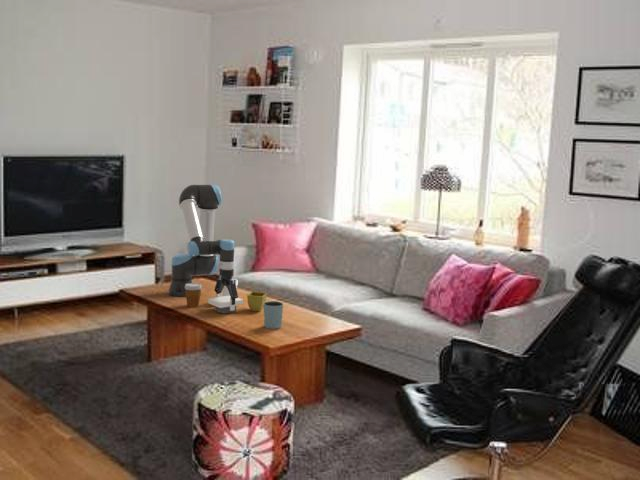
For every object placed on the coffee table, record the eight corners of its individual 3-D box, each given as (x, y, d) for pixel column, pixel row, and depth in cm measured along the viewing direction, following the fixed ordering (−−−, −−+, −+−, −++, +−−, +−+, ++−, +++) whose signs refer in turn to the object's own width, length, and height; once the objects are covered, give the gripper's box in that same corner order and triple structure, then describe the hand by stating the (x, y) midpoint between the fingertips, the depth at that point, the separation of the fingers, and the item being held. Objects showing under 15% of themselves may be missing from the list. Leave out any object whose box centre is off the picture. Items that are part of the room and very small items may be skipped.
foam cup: (226, 305, 404) (227, 282, 402) (217, 302, 411) (217, 279, 409) (240, 303, 410) (241, 280, 408) (231, 299, 417) (231, 277, 415)
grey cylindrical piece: (279, 330, 361) (280, 306, 359) (260, 328, 363) (260, 304, 361) (284, 324, 371) (285, 301, 369) (265, 323, 373) (266, 300, 371)
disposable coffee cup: (182, 304, 402) (182, 283, 400) (199, 303, 406) (199, 282, 404) (186, 308, 394) (186, 287, 392) (203, 307, 397) (204, 286, 395)
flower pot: (261, 312, 392) (262, 296, 391) (246, 311, 394) (246, 295, 393) (266, 308, 401) (266, 292, 399) (251, 307, 402) (251, 291, 401)
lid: (207, 303, 392) (207, 298, 391) (231, 299, 401) (231, 295, 401) (220, 308, 383) (220, 303, 382) (243, 304, 392) (243, 299, 392)
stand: (215, 310, 393) (215, 303, 392) (227, 308, 398) (227, 301, 397) (223, 313, 387) (223, 306, 386) (235, 311, 392) (236, 304, 392)
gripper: (208, 265, 395) (207, 303, 399) (233, 273, 377) (232, 313, 381) (220, 264, 400) (219, 302, 404) (245, 272, 382) (244, 311, 386)
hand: (225, 307), depth 392 cm, fingers closed on lid, 12 cm apart
